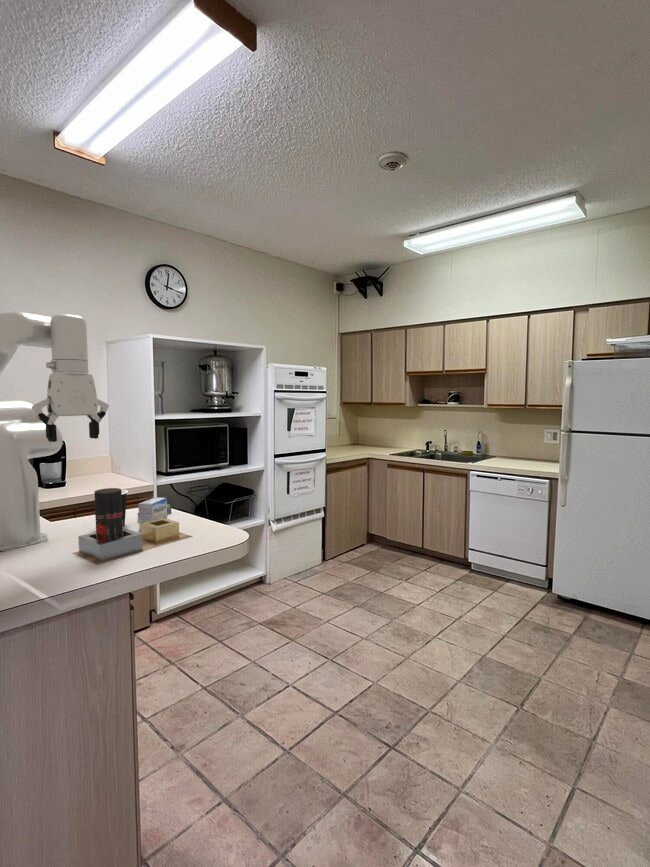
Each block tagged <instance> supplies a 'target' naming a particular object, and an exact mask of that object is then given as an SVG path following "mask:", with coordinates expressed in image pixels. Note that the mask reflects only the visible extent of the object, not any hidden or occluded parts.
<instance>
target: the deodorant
mask: <svg viewBox="0 0 650 867" xmlns="http://www.w3.org/2000/svg"><path fill="white" fill-rule="evenodd" d="M121 489H122V488H118V487H117V488H116V487H105V488H100V489H96V490H94V514H95V516H94V517H95V518H94V519H95V532H96V539H97V540H99V541H102V542H105V541H109V540H113V539H117V538H121V537H123V528H124V526H123V520H122V493H121Z"/></svg>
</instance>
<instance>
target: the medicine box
mask: <svg viewBox="0 0 650 867" xmlns="http://www.w3.org/2000/svg"><path fill="white" fill-rule="evenodd" d="M167 504H168V498H166V497H152V498H149V499H148V500H147V499H146V500H145V501H143V502H139V503H138V505H137V506H138V513H139V521H138V525H139V530H140V531H141V523H145V522H149V521H153V520H157V519H161V518H166V519H168V515H167Z"/></svg>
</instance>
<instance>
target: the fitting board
mask: <svg viewBox="0 0 650 867" xmlns="http://www.w3.org/2000/svg"><path fill="white" fill-rule="evenodd" d="M192 537H194V536H193V535H189V534H187V533H184V532H180V531H179V537H177V538H173V539H170V540H166V541H163V542H159V543H153V542H150V541H148V540H145V539H142V541H143V550H140V551H137V552H133V553H130V554H126V555H123V556H120V557H116V558H113V559H109V560H106V561H102V562H100V561H97V560H95V559H93V558H91V557H89V556H86V555H84V554H82V553H80V552H79V550H78V551H75V552H72V554H74V555H76V556H77V557H80V558H82V559H84V560H86V561H89V562H90V563H93V564H95V565H99V564H100V565H101V564H104V563H107V562H110V561H113V560H117V559H120V558H124V557H127V556H130V555H134V554H138V553H141V552H144V551H147V550H151V549H156V548H158V547H162V546H164V545H168V544H172V543H175V542H178V541H183V540H185V539H190V538H192Z"/></svg>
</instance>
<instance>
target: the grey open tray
mask: <svg viewBox="0 0 650 867" xmlns="http://www.w3.org/2000/svg"><path fill="white" fill-rule="evenodd" d="M140 550H143V541H142V534H141V532H138V531H135V530H131V529H129V528H126V527H123V537H121V538H117V539H113V540H109V541H105V542H102V541H99V540H97V539H96V531H95V532H91V533H86V534H83V535H78V551H79V552H80V553H82V554H84V555H86V556H89V557H91V558H93V559H95V560H97V561H100V562H102V561H106V560H109V559H113V558H116V557H120V556H123V555H126V554H130V553H133V552H137V551H140Z"/></svg>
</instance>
